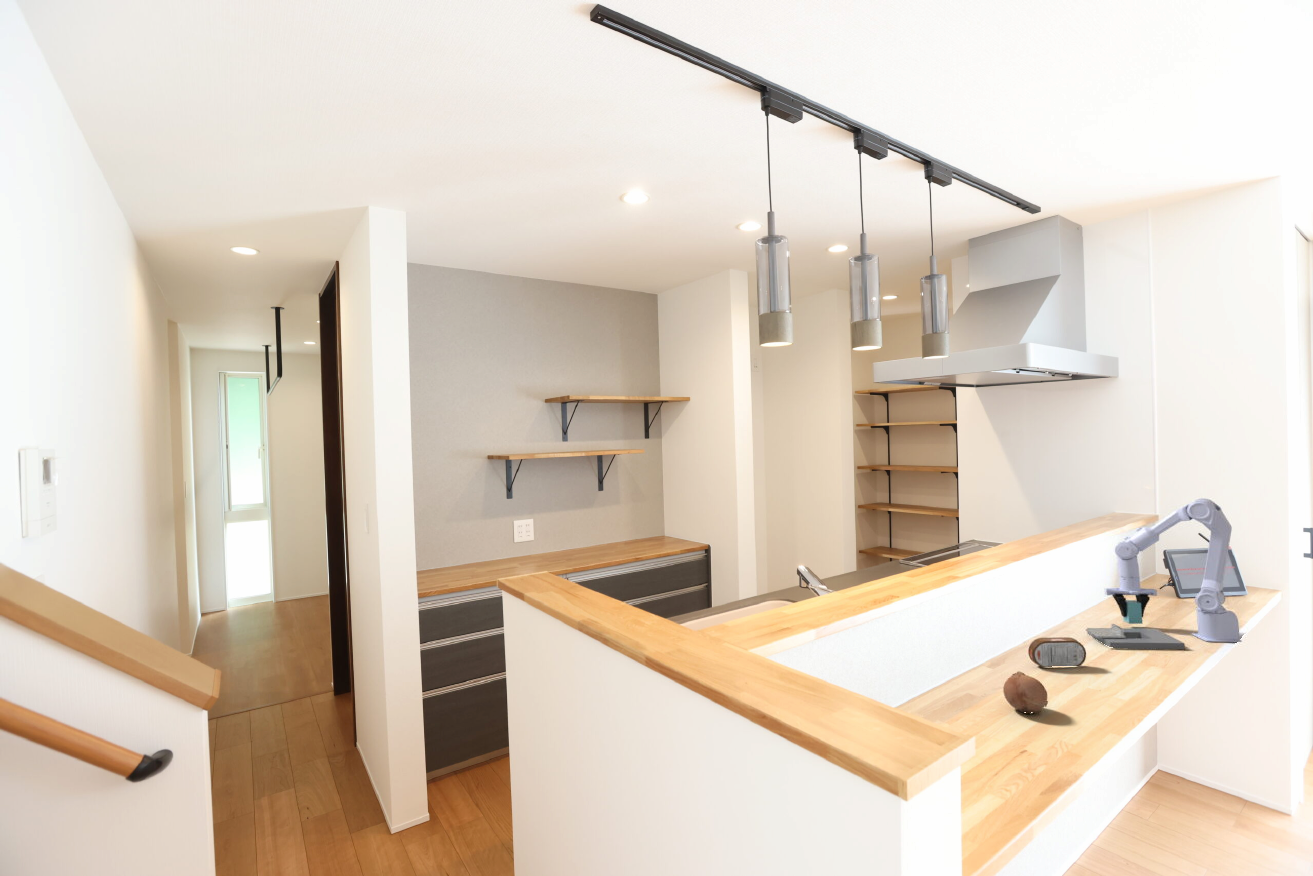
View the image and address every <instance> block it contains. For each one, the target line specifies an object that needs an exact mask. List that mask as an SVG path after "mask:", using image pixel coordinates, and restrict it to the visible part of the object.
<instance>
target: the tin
mask: <svg viewBox="0 0 1313 876" xmlns="http://www.w3.org/2000/svg"><path fill="white" fill-rule="evenodd" d="M1027 652H1028V653H1027V654H1028V657H1029V658H1030V660H1031V661H1032V662H1033V663H1034V664H1035V665H1037V666H1038V667H1040V668H1043V667H1052V666H1079V667H1080V666H1082V665H1083V664H1084V663H1085V661H1086V659H1087V650H1086V648H1085V647H1084V645H1083V644H1082V643H1081V642H1079V641H1078V640H1077V639H1076V638H1073V637H1070V636H1069V637H1038V638H1036V639H1034V640H1033V641H1032V642H1031V643H1030V644H1029V646H1028V651H1027Z"/></svg>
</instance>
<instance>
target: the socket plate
mask: <svg viewBox="0 0 1313 876" xmlns="http://www.w3.org/2000/svg"><path fill="white" fill-rule="evenodd" d="M1121 628H1122V629H1123V631H1124V636H1125V637H1126V638H1097V637H1095V636H1094V635H1092V634H1090V633H1089V632H1087V631H1086V633H1087V635H1088V634H1089V635H1088V636H1090V635H1091V636H1092V637H1091V636H1090V637H1091V638H1093V639H1094V638H1095V639H1094V640H1096V639H1097V640H1098V642H1099V641H1100V642H1099V643H1101V642H1102V643H1103V644H1102V643H1101V644H1102V645H1104V644H1105V645H1107V646H1109V647H1113V648H1128V649H1127V650H1160V649H1185V650H1186V648H1185V642H1183V641H1181V640H1179V639H1177V638H1175V637H1174V636H1171V635H1169V634H1167V633H1165V632H1163V631H1161V630H1159V629H1158V628H1150V627H1149V628H1148V627H1147V628H1143V627H1142V628H1138V627H1137V628H1131V627H1127V628H1124V627H1121ZM1086 629H1112V627H1111V628H1110V627H1109V628H1107V627H1105V628H1103V627H1101V628H1100V627H1092V628H1091V627H1087V628H1086ZM1097 640H1096V641H1097ZM1105 645H1104V646H1105ZM1107 646H1106V647H1107Z"/></svg>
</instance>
